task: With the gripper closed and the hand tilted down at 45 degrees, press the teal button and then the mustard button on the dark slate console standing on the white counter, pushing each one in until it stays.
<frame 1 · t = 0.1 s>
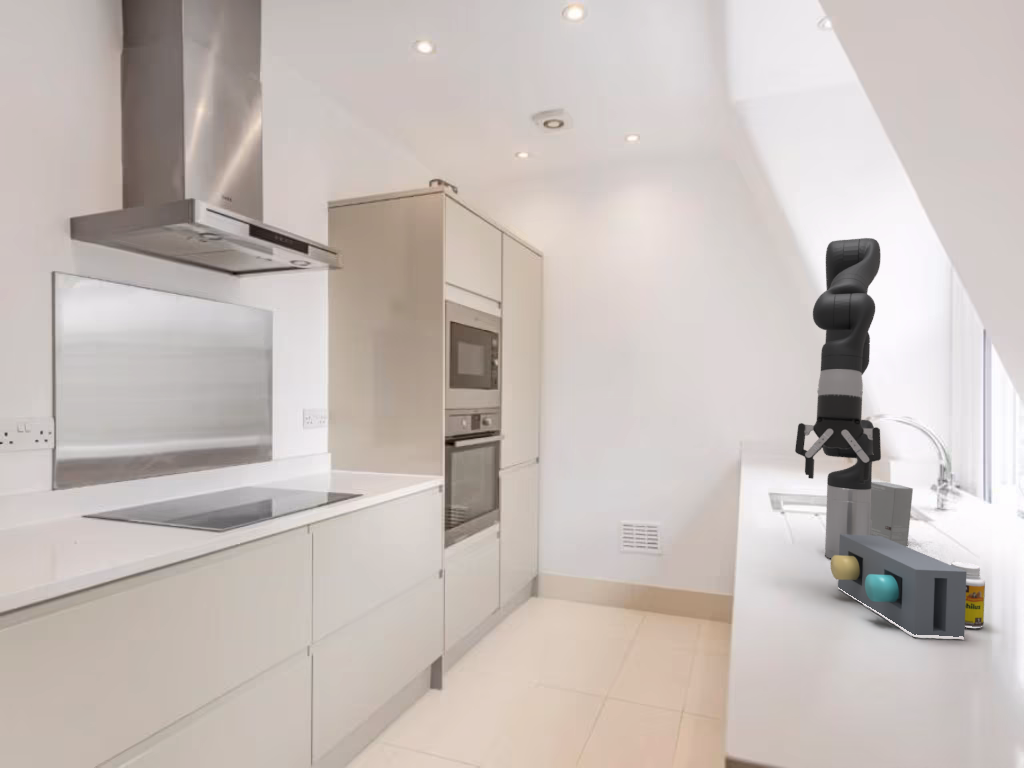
hand: (835, 480, 116), 23 cm above the counter, tool pointing down, fingers open, 8 cm apart
console: (871, 611, 111), on the counter
supplement bottle: (963, 625, 106), on the counter
teal button: (881, 588, 105), point 6 cm above the counter, slide at 0.0 cm
mustard button: (844, 567, 117), point 6 cm above the counter, slide at 0.0 cm
skincare box: (887, 543, 165), on the counter
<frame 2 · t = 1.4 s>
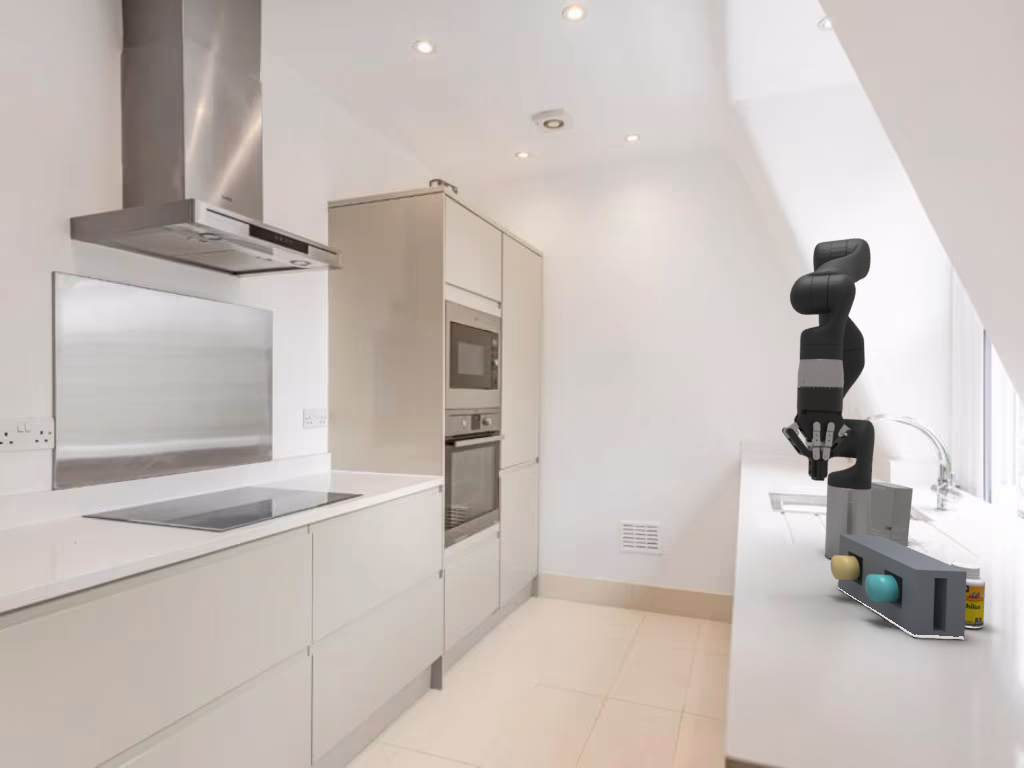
hand: (817, 480, 113), 23 cm above the counter, tool pointing down, fingers closed
nothing on the counter moved.
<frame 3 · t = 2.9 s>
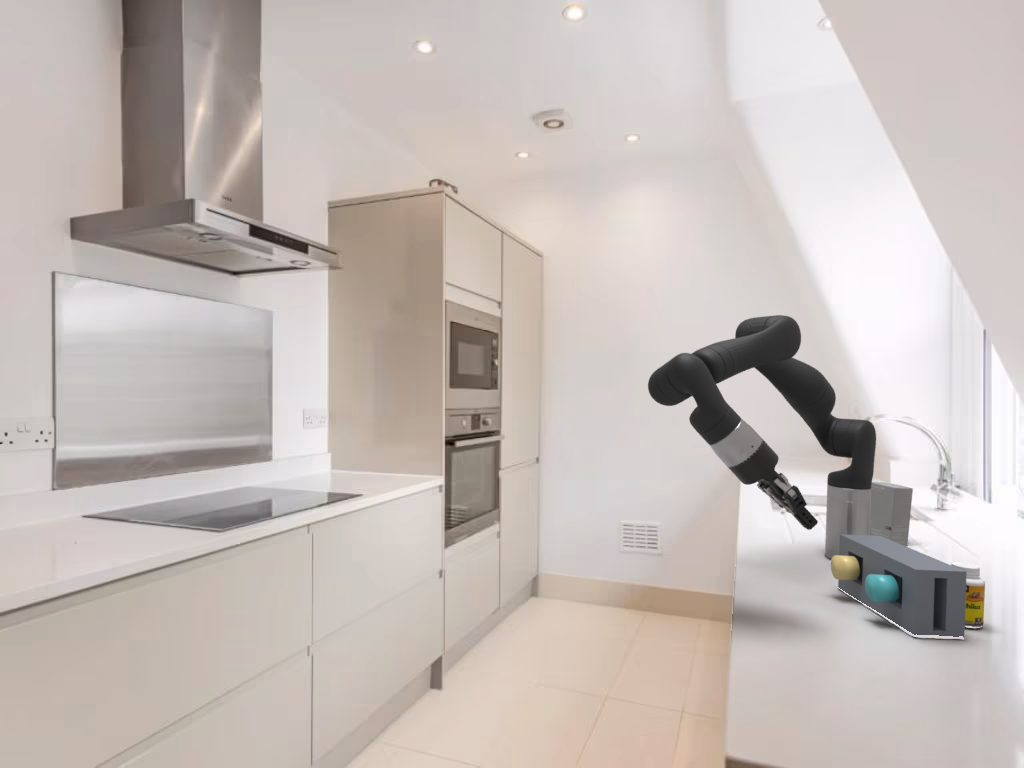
hand: (811, 525, 106), 16 cm above the counter, tool tilted 45°, fingers closed
nothing on the counter moved.
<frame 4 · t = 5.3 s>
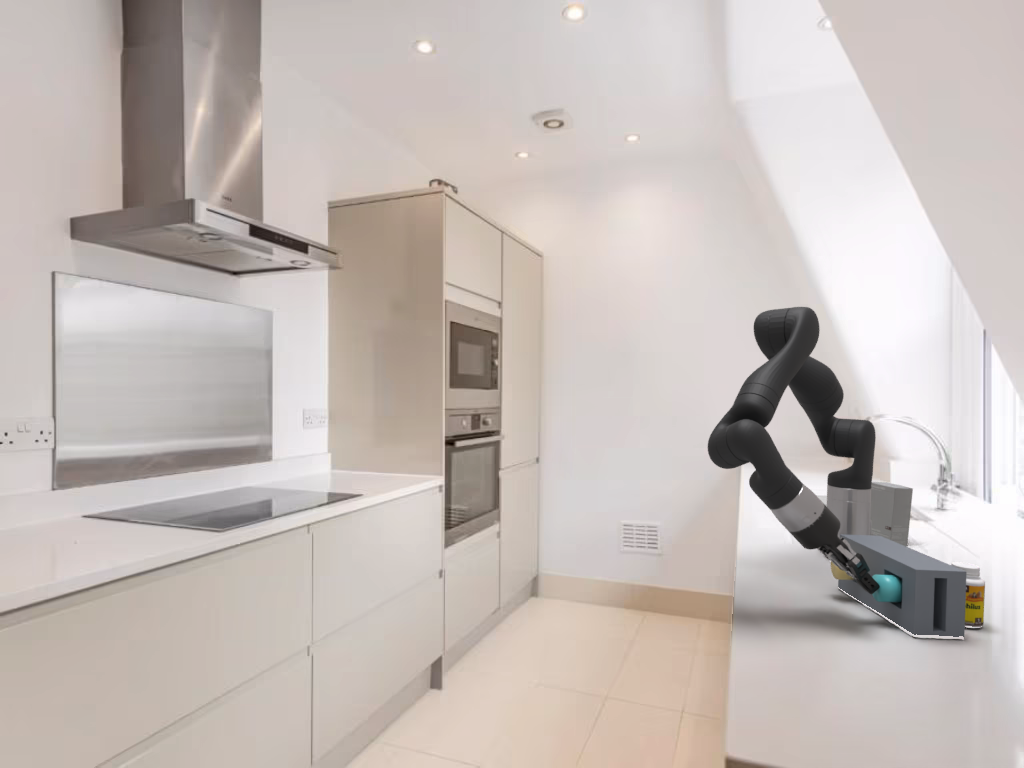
hand: (873, 589, 106), 6 cm above the counter, tool tilted 45°, fingers closed
teal button: (886, 588, 105), point 6 cm above the counter, slide at 0.9 cm, touching gripper
everything else where it was.
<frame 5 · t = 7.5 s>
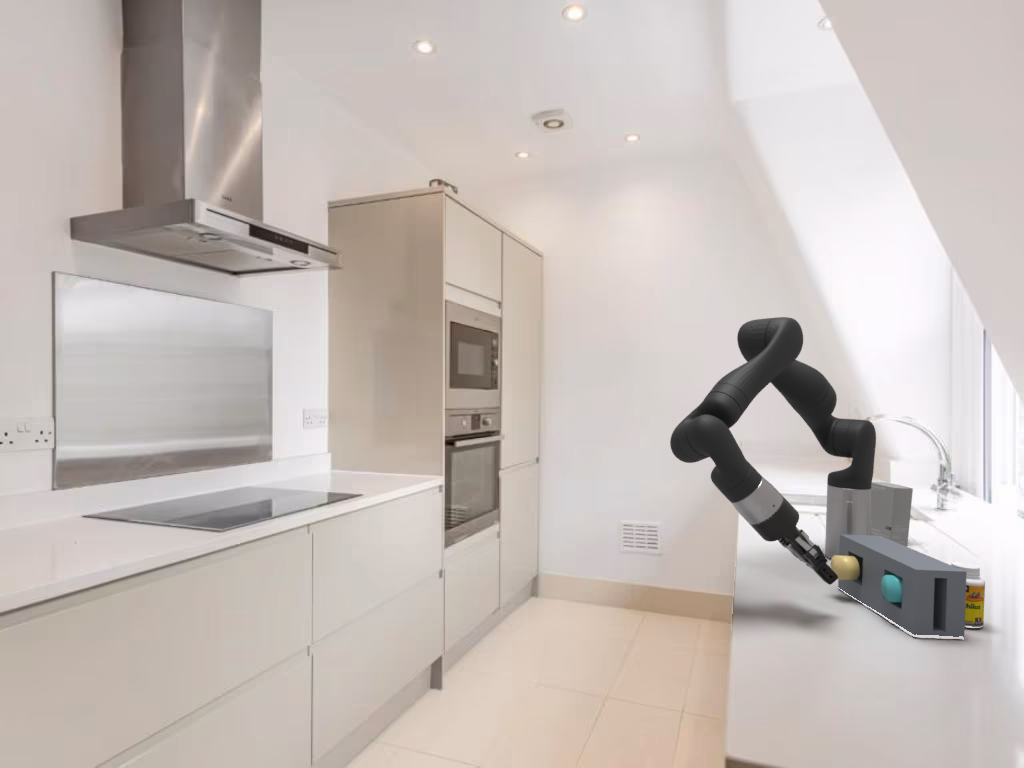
hand: (832, 580, 108), 6 cm above the counter, tool tilted 45°, fingers closed
teal button: (897, 588, 105), point 6 cm above the counter, slide at 2.8 cm
everything else where it was.
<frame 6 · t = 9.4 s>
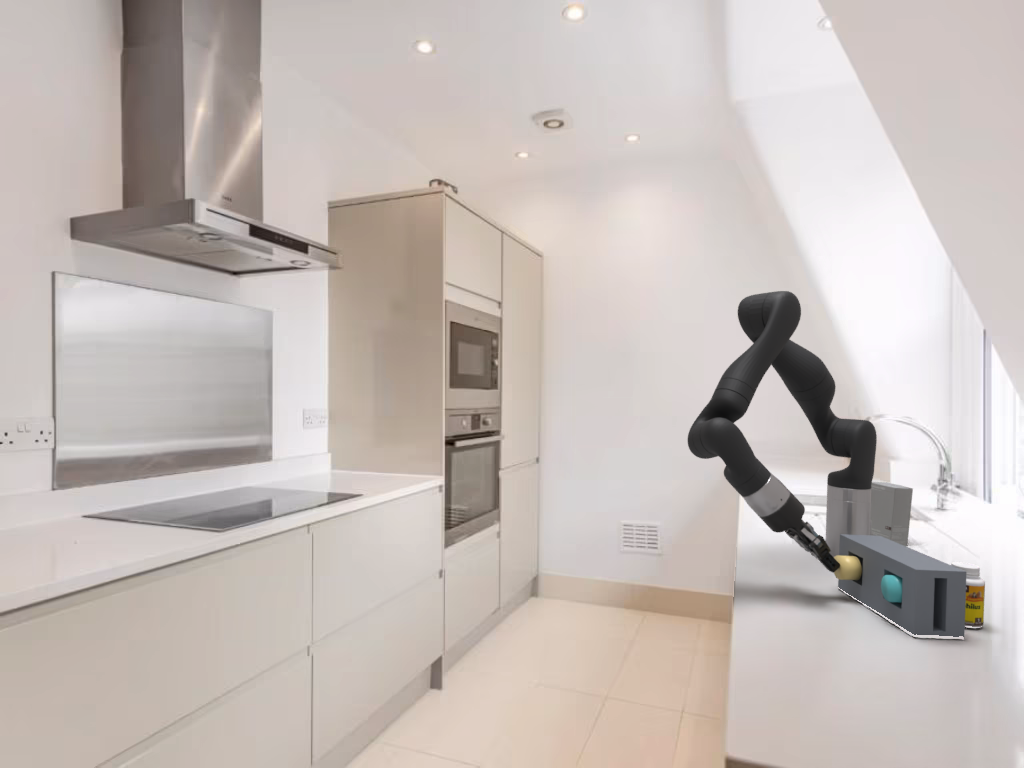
hand: (835, 568, 118), 6 cm above the counter, tool tilted 45°, fingers closed
mustard button: (846, 567, 117), point 6 cm above the counter, slide at 0.4 cm, touching gripper
everything else where it was.
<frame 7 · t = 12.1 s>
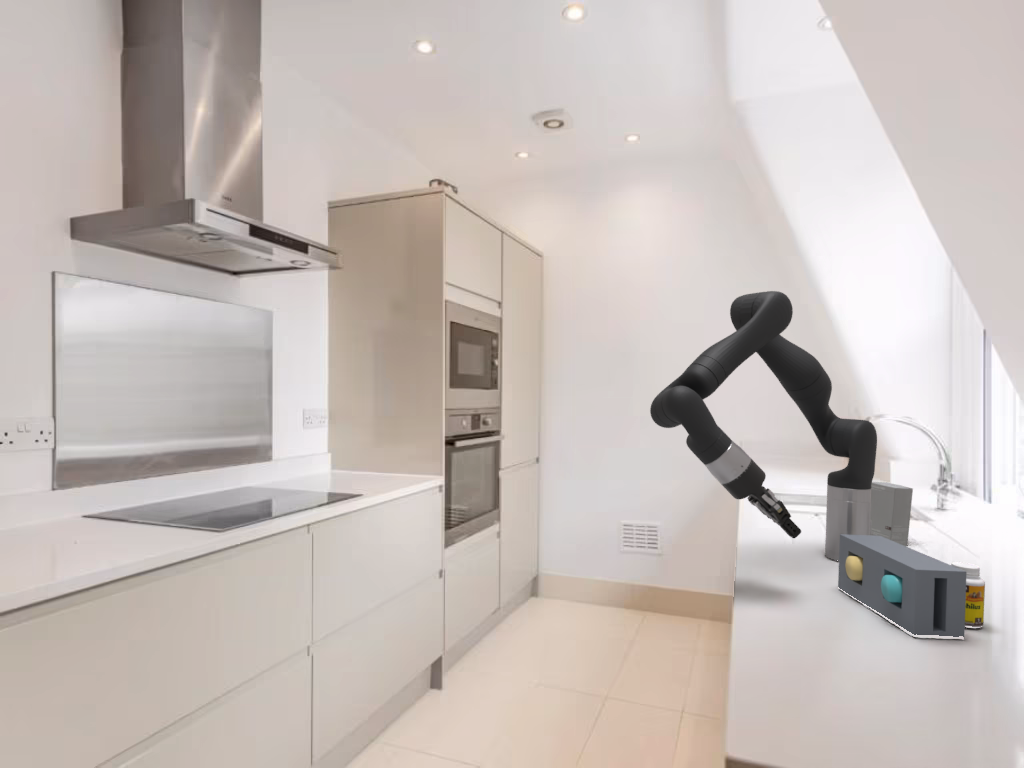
hand: (796, 534, 119), 12 cm above the counter, tool tilted 45°, fingers closed
mustard button: (859, 568, 117), point 6 cm above the counter, slide at 2.8 cm
everything else where it was.
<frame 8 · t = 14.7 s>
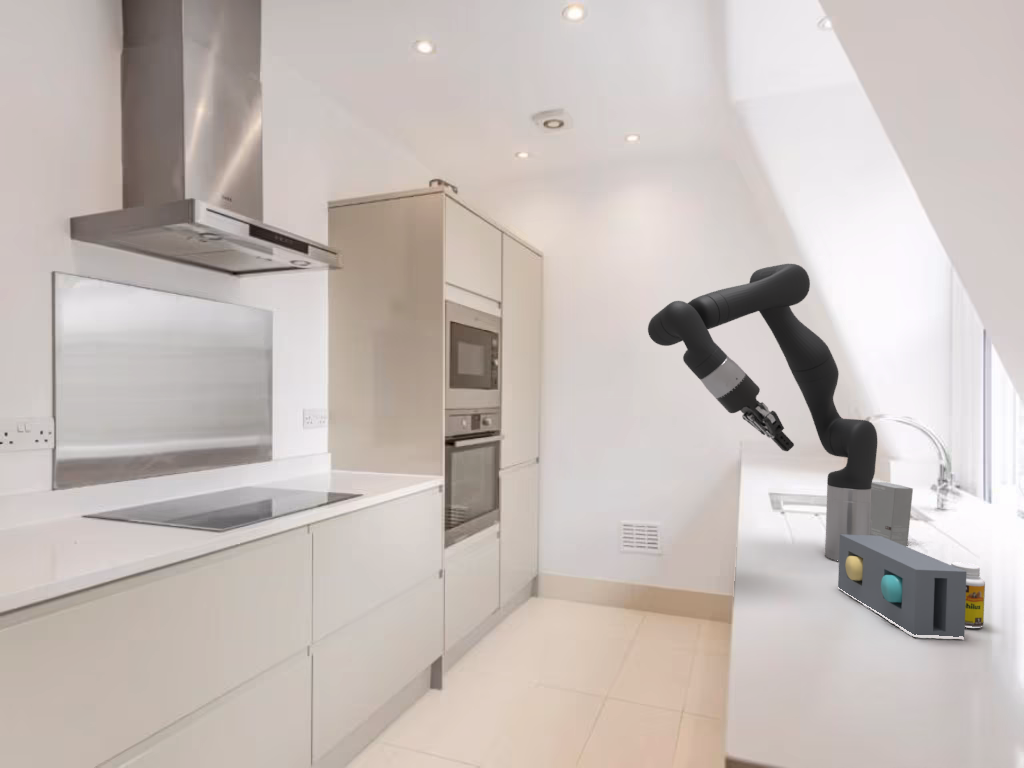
hand: (789, 448, 123), 28 cm above the counter, tool tilted 45°, fingers closed
nothing on the counter moved.
at the end: teal button slide at 2.8 cm; mustard button slide at 2.8 cm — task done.
